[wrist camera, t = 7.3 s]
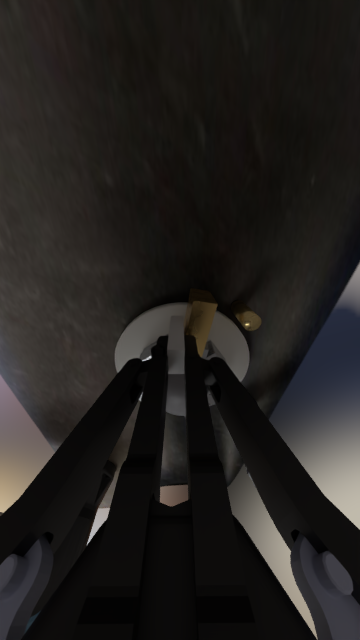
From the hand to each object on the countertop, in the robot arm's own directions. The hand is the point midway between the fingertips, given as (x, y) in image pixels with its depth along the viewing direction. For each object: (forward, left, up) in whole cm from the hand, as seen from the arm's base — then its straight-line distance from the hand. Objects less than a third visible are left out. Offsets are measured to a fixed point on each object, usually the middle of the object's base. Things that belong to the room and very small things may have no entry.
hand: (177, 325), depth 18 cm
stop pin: (+5, -7, -4) cm, 9 cm away
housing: (-8, -5, -4) cm, 10 cm away
